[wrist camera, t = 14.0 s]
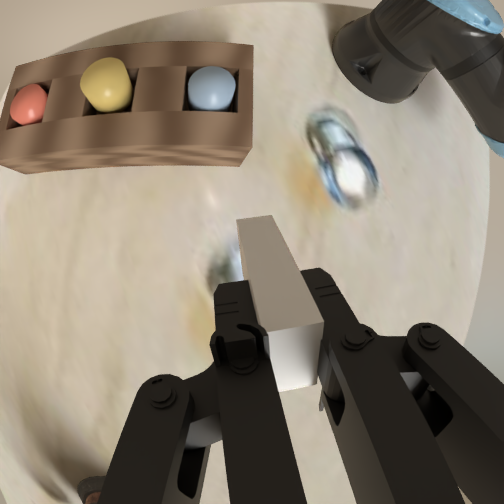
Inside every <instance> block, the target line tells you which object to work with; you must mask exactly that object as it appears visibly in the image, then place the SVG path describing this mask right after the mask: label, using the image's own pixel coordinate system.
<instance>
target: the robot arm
mask: <svg viewBox="0 0 504 504" xmlns="http://www.w3.org/2000/svg"><path fill="white" fill-rule="evenodd" d="M503 27H504V24H503V20H502V18H501V16H500V15H499V13H498V12H497V11H496V10H495V9H494V6H493V5H492V4H491V2H490V1H489V0H382V1H381V2H380V3H379V4H378V5H377V7H376V8H375V9H374V10H373V11H372V12H371V13H369V14H367V15H365V16H363V17H361V18H359V19H357V20H355V21H351V22H349V23H347V24H345V25H344V26H343V27H342V28H341V29H340V30H339V32H338V33H337V34H336V36H335V37H334V40H333V53H334V57H335V59H336V62H337V64H338V66H339V67H340V69H341V71H342V72H343V73H344V75H345V76H346V77H347V78H348V80H349V81H350V82H351V83H352V84H353V85H354V86H356V87H357V88H358V89H359V90H360V91H362V92H363V93H365V94H366V95H368V96H369V97H371V98H373V99H375V100H378V101H381V102H384V103H399V102H402V101H403V100H405V99H407V98H408V97H410V96H411V95H413V94H414V93H415V91H416V90H417V88H418V86H419V84H420V83H421V82H422V80H423V79H424V78H425V76H426V75H427V73H428V72H429V71H431V70H432V69H434V68H435V67H436V68H437V69H438V71H439V72H440V73H441V74H442V75H443V77H444V78H445V80H446V81H447V82H448V84H449V85H450V86H451V88H452V89H453V91H454V92H455V93H456V95H457V96H458V98H459V99H460V101H461V102H462V104H463V105H464V107H465V108H466V110H467V111H468V113H469V114H470V116H471V117H472V119H473V121H474V122H475V126H476V128H477V130H478V131H479V133H480V134H481V135H482V136H483V137H484V139H485V140H486V142H487V144H488V145H489V147H490V148H491V149H492V150H493V151H494V152H495V153H496V154H497V155H499V156H501V157H503V158H504V38H503V36H502V35H501V34H500V33H501V32H502V29H503ZM236 221H237V229H238V238H239V246H240V254H241V263H242V271H243V277H244V280H243V281H237V282H230V283H223V284H219V285H218V287H217V289H216V291H215V293H214V310H215V326H216V331H215V332H214V333H213V335H212V336H211V340H210V348H211V351H212V355H213V359H214V362H213V363H212V365H211V366H210V367H209V368H208V369H206V370H205V371H204V372H202V373H200V374H198V375H195V376H193V377H190V378H188V379H185V380H182V379H181V378H179V377H177V376H174V375H171V374H162V375H157V376H154V377H152V378H150V379H148V380H147V381H146V382H144V383H143V384H142V386H141V387H140V389H139V390H138V392H137V394H136V397H135V399H134V402H133V404H132V407H131V409H130V412H129V415H128V417H127V420H126V422H125V425H124V428H123V430H122V433H121V436H120V438H119V441H118V444H117V447H116V449H115V452H114V455H113V458H112V460H111V463H110V466H109V469H108V472H107V475H106V478H105V481H104V484H103V487H102V490H101V493H100V496H99V499H98V502H97V504H199V503H200V498H201V493H202V488H203V483H204V477H205V472H206V467H207V462H208V457H209V452H210V447H211V444H213V443H215V442H218V441H220V440H223V449H224V457H225V466H226V474H227V482H228V490H229V497H230V504H307V501H306V497H305V493H304V489H303V486H302V482H301V478H300V474H299V470H298V466H297V462H296V459H295V455H294V451H293V447H292V443H291V439H290V435H289V431H288V427H287V423H286V419H285V415H284V411H283V407H282V403H281V399H280V395H279V392H282V391H287V390H292V389H297V388H302V387H306V386H311V385H315V384H317V378H318V376H319V379H320V382H321V385H322V391H321V397H320V402H319V411H323V408H324V407H325V410H326V413H327V416H328V419H329V422H330V425H331V428H332V431H333V433H334V436H335V439H336V442H337V445H338V448H339V451H340V454H341V457H342V460H343V463H344V466H345V469H346V472H347V475H348V478H349V481H350V484H351V487H352V490H353V493H354V497H355V500H356V503H357V504H465V502H464V500H463V498H462V495H461V493H460V490H459V488H460V489H461V490H462V491H463V493H464V494H465V495H466V496H467V497H468V499H469V500H470V501H471V502H472V504H504V384H503V383H502V382H500V380H499V379H498V378H496V377H495V376H494V375H493V374H492V373H491V372H490V371H489V370H488V369H487V368H486V367H485V366H484V365H483V364H482V363H480V362H479V361H478V360H477V359H476V358H475V357H474V356H473V355H472V354H471V353H469V352H468V351H467V350H466V349H465V348H464V347H463V346H462V345H461V344H460V343H458V342H457V341H456V340H455V339H454V338H453V337H452V336H450V335H449V334H448V333H447V332H446V331H445V330H444V329H442V328H440V327H439V326H437V325H435V324H431V323H419V324H416V325H413V326H412V327H411V328H410V329H409V331H408V334H407V336H380V335H377V333H376V332H375V331H374V330H373V329H372V328H370V327H368V326H366V325H364V324H360V323H359V322H358V320H357V318H356V316H355V315H354V313H353V311H352V310H351V308H350V306H349V305H348V303H347V301H346V300H345V298H344V296H343V295H342V294H341V291H340V290H339V288H338V287H337V286H336V283H335V282H334V280H333V278H332V277H331V275H330V274H328V273H327V272H325V271H324V270H323V269H321V268H314V269H308V270H302V271H300V270H299V268H298V266H297V264H296V262H295V260H294V258H293V256H292V254H291V252H290V250H289V248H288V246H287V244H286V242H285V240H284V238H283V236H282V234H281V232H280V230H279V229H278V227H277V225H276V223H275V221H274V219H273V217H272V215H269V216H261V217H253V218H246V219H239V220H236ZM458 487H459V488H458Z"/></svg>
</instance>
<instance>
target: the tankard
mask: <svg viewBox="0 0 504 504" xmlns="http://www.w3.org/2000/svg"><path fill="white" fill-rule="evenodd" d="M105 478H106V476H95V477H89V478H86V479H84V480H82V481H81V482H80V483H79V485H78V494H79V497H80V498H81V500H82V503H83V504H97V502H98V499H99V496H100V493H101V490H102V487H103V484H104V481H105Z"/></svg>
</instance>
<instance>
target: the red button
mask: <svg viewBox="0 0 504 504" xmlns="http://www.w3.org/2000/svg"><path fill="white" fill-rule="evenodd" d="M47 98H48V94H47V93H46V92H45V91H44V90H43V89H42V88H41V87H40V86H39V85H37V84H29V85H27V86H25V87H24V88H22V89H21V90H20V91H19V92H18V93H17V94H16V96H15V97H14V99H13V101H12V103H11V107H10V115H11V117H12V119H14V120H15V121H16V122H18V123H19V124H21V125H22V126H26V125H31V124H37V123H42V120H43V115H44V111H45V106H46V102H47Z"/></svg>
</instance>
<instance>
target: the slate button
mask: <svg viewBox="0 0 504 504" xmlns="http://www.w3.org/2000/svg"><path fill="white" fill-rule="evenodd" d="M234 91H235V80H234V78H233V76H232V75H231V74H230V73H229V72H228V71H227V70H225V69H223V68H221V67H216V66H208V67H203V68H201V69H199V70H197V71H196V72H194V73H193V75H192V76H191V77H190V79H189V83H188V104H189V110H190V111H212V112H228V110H229V107H230V104H231V101H232V97H233V94H234Z"/></svg>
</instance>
